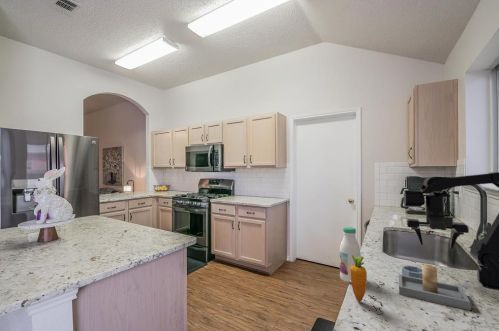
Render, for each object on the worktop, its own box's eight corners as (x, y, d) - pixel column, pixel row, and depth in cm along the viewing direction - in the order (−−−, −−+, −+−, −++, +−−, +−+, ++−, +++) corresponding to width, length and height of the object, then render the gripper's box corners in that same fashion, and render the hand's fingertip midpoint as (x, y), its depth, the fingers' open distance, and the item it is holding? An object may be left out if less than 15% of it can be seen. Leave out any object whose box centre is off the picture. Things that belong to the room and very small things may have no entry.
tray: (461, 293, 78) (461, 286, 78) (470, 310, 69) (470, 302, 69) (398, 280, 88) (398, 274, 88) (399, 294, 78) (399, 286, 78)
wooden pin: (436, 290, 79) (435, 266, 79) (438, 295, 76) (437, 270, 76) (422, 287, 81) (421, 264, 82) (423, 291, 78) (422, 268, 78)
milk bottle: (360, 276, 92) (358, 226, 93) (362, 285, 85) (361, 230, 86) (339, 273, 95) (338, 225, 95) (340, 282, 87) (339, 229, 88)
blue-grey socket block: (424, 275, 93) (424, 268, 93) (426, 283, 86) (426, 274, 86) (401, 271, 97) (401, 264, 97) (402, 278, 90) (402, 270, 90)
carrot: (347, 298, 76) (346, 252, 76) (361, 297, 76) (360, 252, 77) (355, 306, 71) (354, 257, 72) (371, 306, 71) (369, 257, 72)
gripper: (407, 208, 90) (408, 248, 90) (471, 212, 80) (473, 257, 80) (406, 205, 100) (407, 241, 99) (464, 208, 90) (465, 248, 89)
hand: (436, 246), depth 91 cm, fingers open, 9 cm apart
